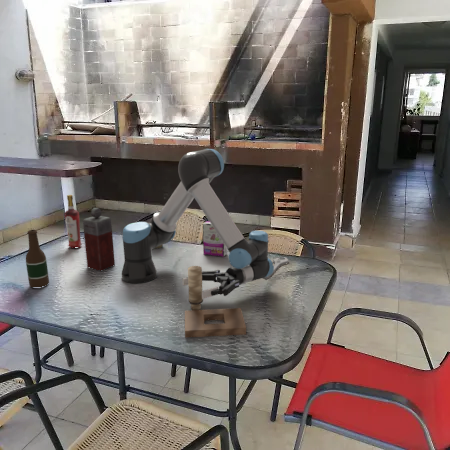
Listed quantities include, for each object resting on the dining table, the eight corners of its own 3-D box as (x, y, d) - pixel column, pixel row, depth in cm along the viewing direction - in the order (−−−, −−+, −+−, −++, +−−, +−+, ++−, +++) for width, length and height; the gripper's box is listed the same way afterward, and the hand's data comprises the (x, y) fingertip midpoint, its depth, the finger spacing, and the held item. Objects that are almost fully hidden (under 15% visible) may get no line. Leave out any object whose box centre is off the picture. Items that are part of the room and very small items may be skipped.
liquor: (65, 249, 226) (59, 196, 218) (72, 244, 233) (66, 193, 225) (78, 249, 224) (72, 197, 217) (85, 245, 231) (79, 194, 224)
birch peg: (188, 312, 157) (187, 271, 153) (188, 305, 162) (187, 266, 158) (203, 311, 158) (202, 270, 153) (202, 305, 163) (201, 265, 158)
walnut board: (185, 337, 140) (184, 330, 140) (185, 316, 154) (184, 310, 153) (246, 334, 142) (246, 327, 141) (240, 314, 155) (240, 308, 155)
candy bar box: (227, 254, 217) (227, 222, 212) (223, 257, 212) (223, 225, 208) (206, 251, 221) (206, 220, 216) (203, 254, 216) (202, 223, 211)
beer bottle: (53, 283, 183) (46, 229, 177) (38, 290, 176) (31, 234, 170) (40, 280, 186) (32, 227, 180) (25, 287, 180) (17, 232, 173)
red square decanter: (98, 260, 209) (93, 204, 201) (115, 265, 203) (110, 207, 195) (83, 266, 201) (77, 208, 194) (100, 271, 196) (95, 211, 188)
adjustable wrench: (267, 280, 186) (267, 276, 185) (254, 277, 189) (254, 273, 189) (289, 261, 207) (289, 258, 206) (277, 259, 210) (277, 256, 209)
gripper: (259, 295, 159) (211, 310, 148) (220, 273, 179) (175, 286, 167) (259, 276, 157) (211, 290, 146) (220, 256, 177) (175, 268, 165)
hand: (192, 288), depth 156 cm, fingers open, 13 cm apart
